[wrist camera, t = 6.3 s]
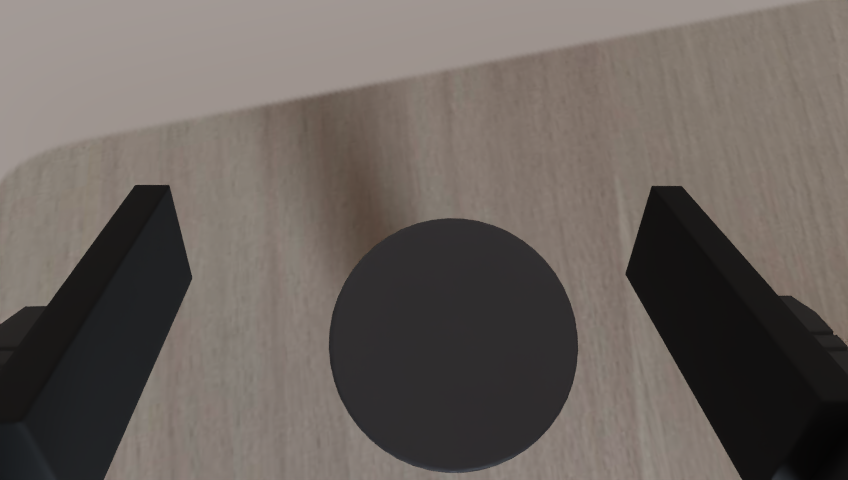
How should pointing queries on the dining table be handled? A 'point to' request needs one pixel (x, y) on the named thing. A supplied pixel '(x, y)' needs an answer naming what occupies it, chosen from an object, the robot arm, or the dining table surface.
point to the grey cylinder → (453, 345)
